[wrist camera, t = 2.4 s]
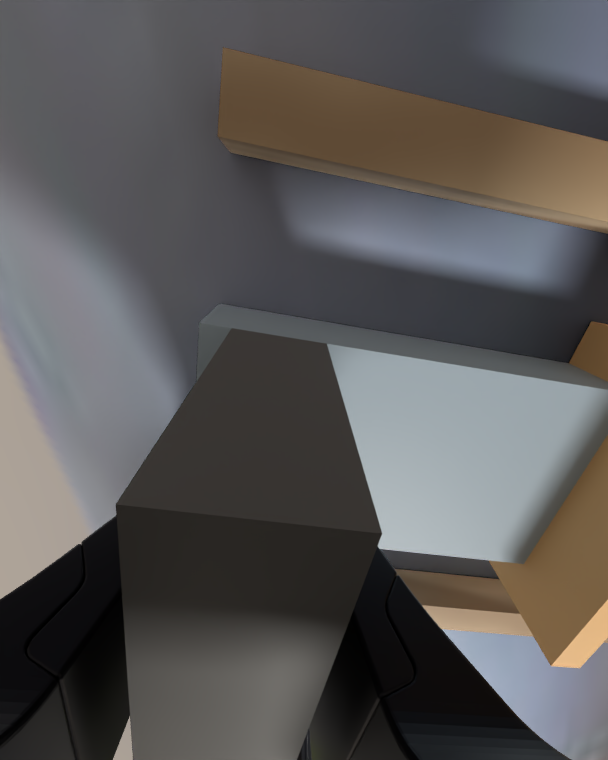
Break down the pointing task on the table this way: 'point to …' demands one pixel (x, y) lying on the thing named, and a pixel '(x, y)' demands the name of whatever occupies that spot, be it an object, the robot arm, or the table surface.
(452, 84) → the table surface
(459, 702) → the robot arm
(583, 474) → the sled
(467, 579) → the rails
